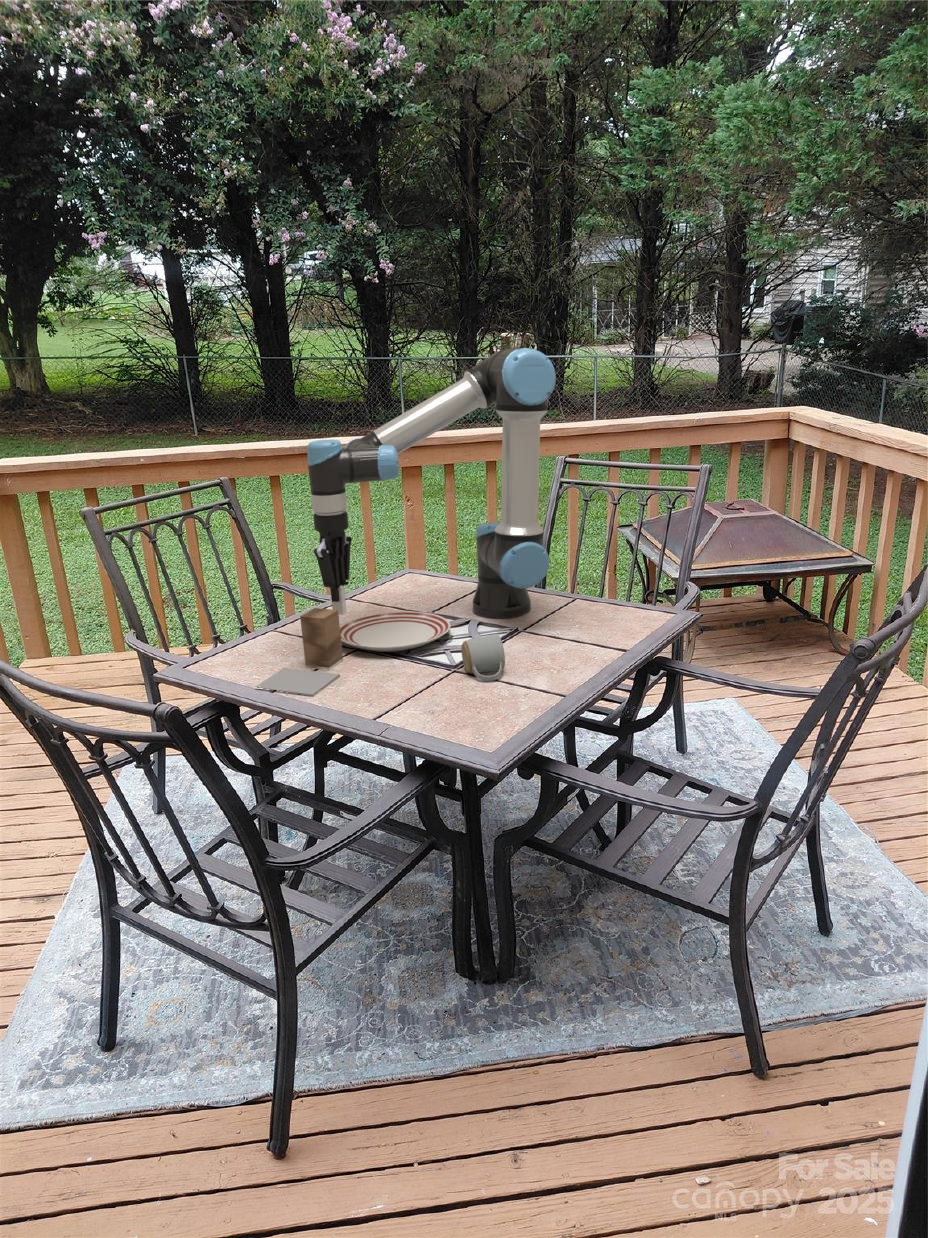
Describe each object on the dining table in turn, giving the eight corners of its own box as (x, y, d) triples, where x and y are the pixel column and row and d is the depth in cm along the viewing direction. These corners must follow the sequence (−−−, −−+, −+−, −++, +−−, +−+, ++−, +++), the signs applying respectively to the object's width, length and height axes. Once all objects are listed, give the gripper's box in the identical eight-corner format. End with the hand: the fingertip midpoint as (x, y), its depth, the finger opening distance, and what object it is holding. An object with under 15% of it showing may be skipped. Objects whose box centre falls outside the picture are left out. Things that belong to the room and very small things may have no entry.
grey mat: (339, 676, 180) (339, 674, 179) (313, 696, 170) (312, 694, 170) (284, 669, 185) (284, 667, 184) (255, 689, 175) (254, 687, 175)
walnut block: (343, 660, 189) (338, 610, 185) (329, 670, 183) (324, 618, 179) (319, 657, 191) (314, 607, 187) (305, 667, 185) (300, 616, 182)
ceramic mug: (460, 666, 182) (459, 633, 179) (496, 661, 184) (495, 628, 181) (472, 685, 172) (471, 651, 170) (510, 680, 174) (510, 645, 171)
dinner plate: (348, 622, 215) (347, 609, 214) (454, 619, 213) (454, 607, 212) (325, 662, 189) (324, 648, 188) (446, 659, 187) (445, 645, 186)
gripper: (330, 505, 191) (339, 603, 199) (299, 517, 180) (310, 621, 187) (359, 506, 188) (367, 606, 196) (329, 518, 177) (339, 624, 185)
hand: (339, 613), depth 192 cm, fingers closed
